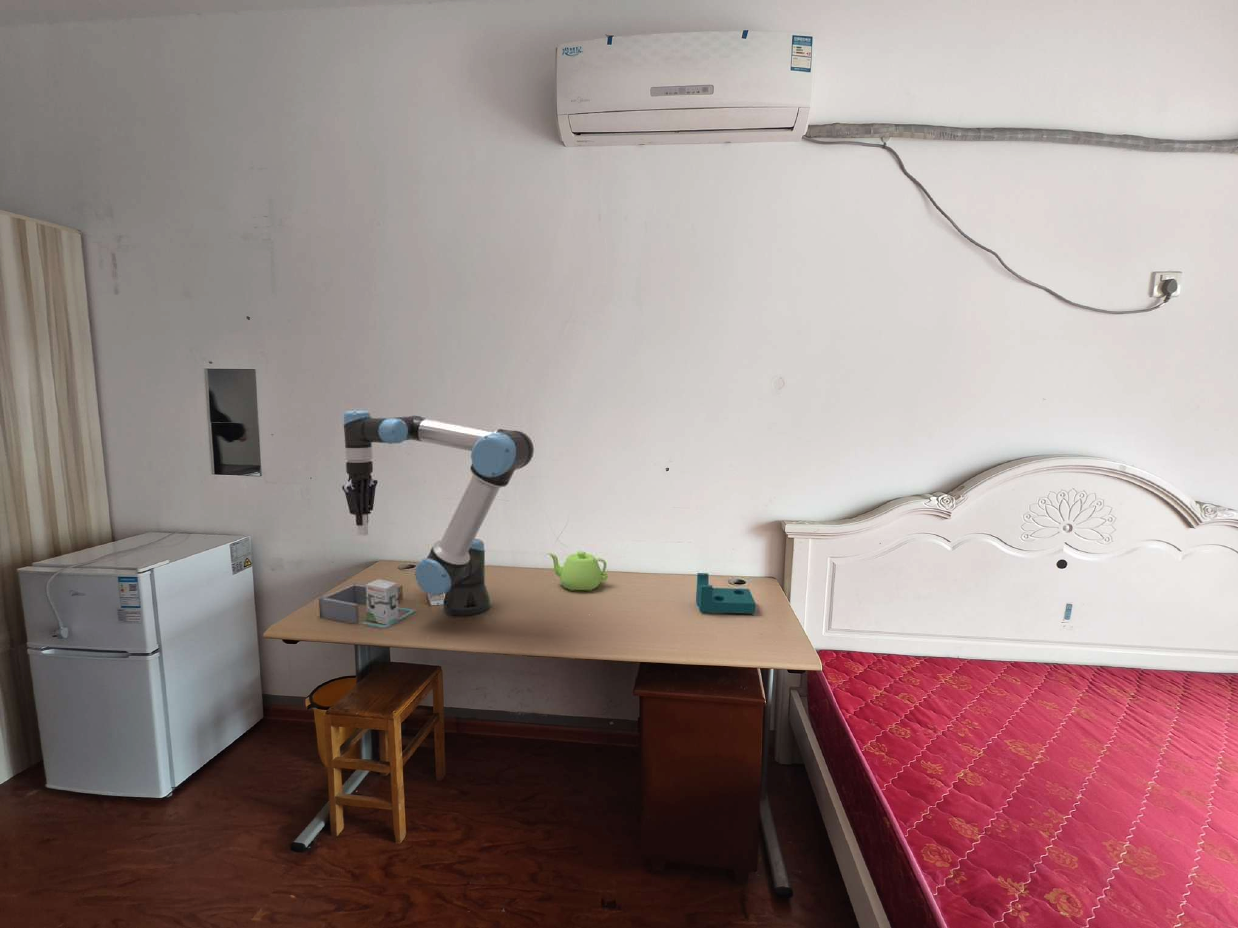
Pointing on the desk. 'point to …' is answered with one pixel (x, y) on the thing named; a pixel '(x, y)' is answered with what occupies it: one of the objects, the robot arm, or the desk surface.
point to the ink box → (382, 601)
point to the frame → (392, 621)
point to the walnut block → (400, 592)
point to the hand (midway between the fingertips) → (362, 534)
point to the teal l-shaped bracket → (722, 598)
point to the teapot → (580, 571)
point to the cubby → (343, 604)
